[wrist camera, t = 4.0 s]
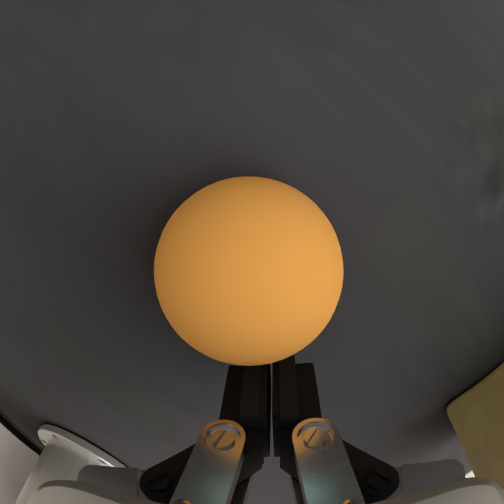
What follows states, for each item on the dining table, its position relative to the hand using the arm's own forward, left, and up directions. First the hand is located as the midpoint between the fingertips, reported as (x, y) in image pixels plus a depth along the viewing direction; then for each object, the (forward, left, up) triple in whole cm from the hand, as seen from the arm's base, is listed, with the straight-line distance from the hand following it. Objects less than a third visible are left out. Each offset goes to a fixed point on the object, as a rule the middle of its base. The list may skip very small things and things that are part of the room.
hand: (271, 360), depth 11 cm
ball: (+2, +4, +1) cm, 4 cm away
